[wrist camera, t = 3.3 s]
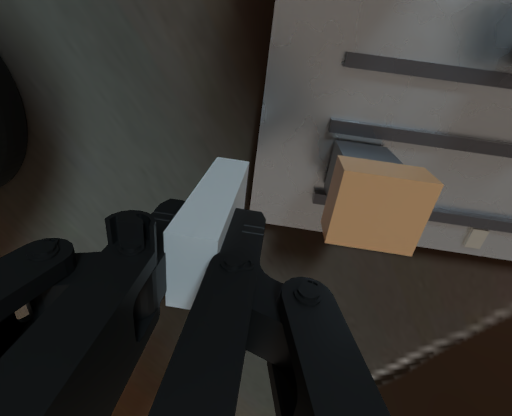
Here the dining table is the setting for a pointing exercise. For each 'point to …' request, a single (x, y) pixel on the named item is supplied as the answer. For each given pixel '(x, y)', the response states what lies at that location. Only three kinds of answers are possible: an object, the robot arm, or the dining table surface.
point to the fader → (376, 199)
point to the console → (392, 109)
